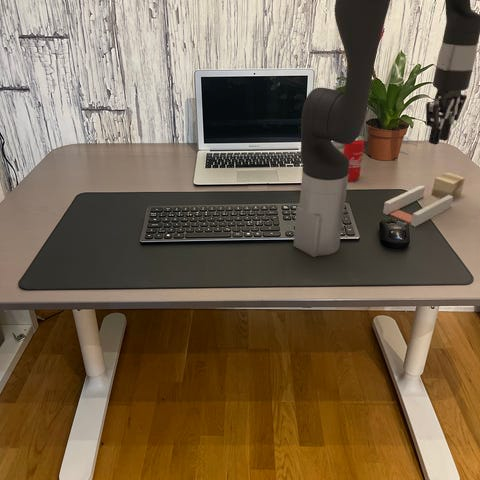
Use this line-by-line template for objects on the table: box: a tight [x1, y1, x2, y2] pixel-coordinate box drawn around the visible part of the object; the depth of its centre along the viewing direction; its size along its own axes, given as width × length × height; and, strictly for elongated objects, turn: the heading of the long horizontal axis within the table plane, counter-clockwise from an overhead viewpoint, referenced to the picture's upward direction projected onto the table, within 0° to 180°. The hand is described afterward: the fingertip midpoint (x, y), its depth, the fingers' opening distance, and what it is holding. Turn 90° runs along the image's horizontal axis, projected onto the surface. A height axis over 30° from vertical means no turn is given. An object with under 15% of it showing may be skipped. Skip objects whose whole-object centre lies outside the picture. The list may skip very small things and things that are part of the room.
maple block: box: [431, 172, 466, 200], centre depth 129 cm, size 6×5×5 cm
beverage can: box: [342, 135, 365, 182], centre depth 137 cm, size 5×5×12 cm
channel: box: [382, 185, 454, 227], centre depth 122 cm, size 16×9×3 cm, turn 131°
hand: (438, 141), depth 116 cm, fingers open, 3 cm apart
